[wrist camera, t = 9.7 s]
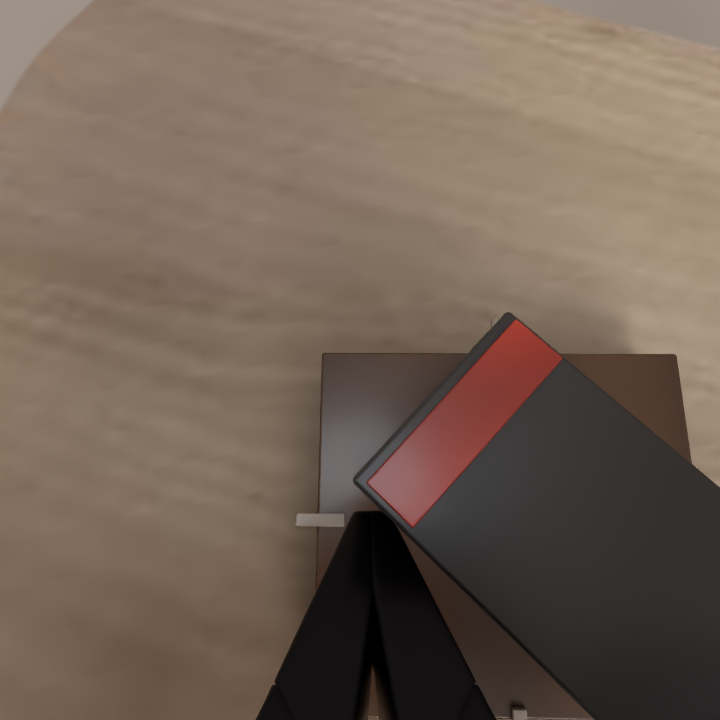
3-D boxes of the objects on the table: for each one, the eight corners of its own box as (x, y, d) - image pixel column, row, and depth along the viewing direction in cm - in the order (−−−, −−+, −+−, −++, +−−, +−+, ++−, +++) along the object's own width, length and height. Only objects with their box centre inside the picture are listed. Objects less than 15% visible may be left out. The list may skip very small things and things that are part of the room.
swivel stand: (654, 336, 17) (695, 318, 15) (707, 732, 14) (766, 778, 12) (311, 335, 17) (303, 316, 15) (298, 723, 14) (286, 766, 12)
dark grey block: (665, 571, 13) (954, 671, 7) (576, 687, 13) (797, 921, 6) (448, 378, 15) (513, 303, 8) (359, 475, 14) (349, 481, 7)
